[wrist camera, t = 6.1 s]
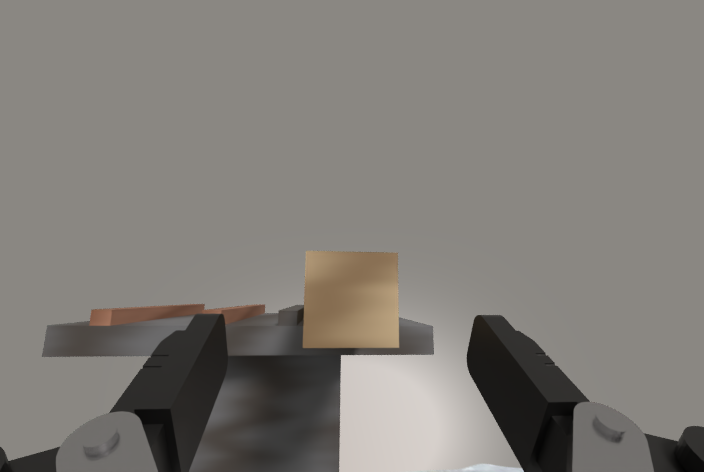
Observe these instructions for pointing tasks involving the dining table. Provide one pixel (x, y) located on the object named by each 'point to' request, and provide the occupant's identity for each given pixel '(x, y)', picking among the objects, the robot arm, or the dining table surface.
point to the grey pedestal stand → (246, 380)
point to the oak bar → (351, 300)
